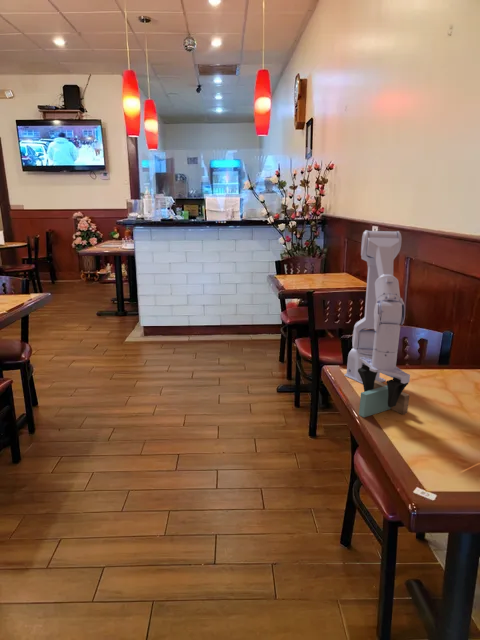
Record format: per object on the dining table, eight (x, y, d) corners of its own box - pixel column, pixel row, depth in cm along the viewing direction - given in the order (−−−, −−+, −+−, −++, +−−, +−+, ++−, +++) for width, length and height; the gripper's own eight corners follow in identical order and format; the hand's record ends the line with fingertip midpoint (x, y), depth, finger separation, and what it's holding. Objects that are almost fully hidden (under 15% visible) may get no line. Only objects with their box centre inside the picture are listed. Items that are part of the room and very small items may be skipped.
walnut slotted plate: (369, 398, 123) (371, 381, 122) (373, 397, 124) (375, 380, 123) (402, 414, 114) (405, 396, 113) (407, 413, 115) (409, 394, 114)
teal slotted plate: (358, 414, 114) (360, 392, 112) (394, 404, 120) (396, 382, 119) (363, 417, 112) (365, 395, 111) (399, 406, 119) (401, 384, 117)
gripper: (352, 343, 116) (347, 393, 119) (398, 360, 104) (391, 415, 107) (371, 339, 119) (366, 387, 123) (418, 355, 108) (411, 408, 111)
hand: (379, 400), depth 115 cm, fingers open, 7 cm apart
